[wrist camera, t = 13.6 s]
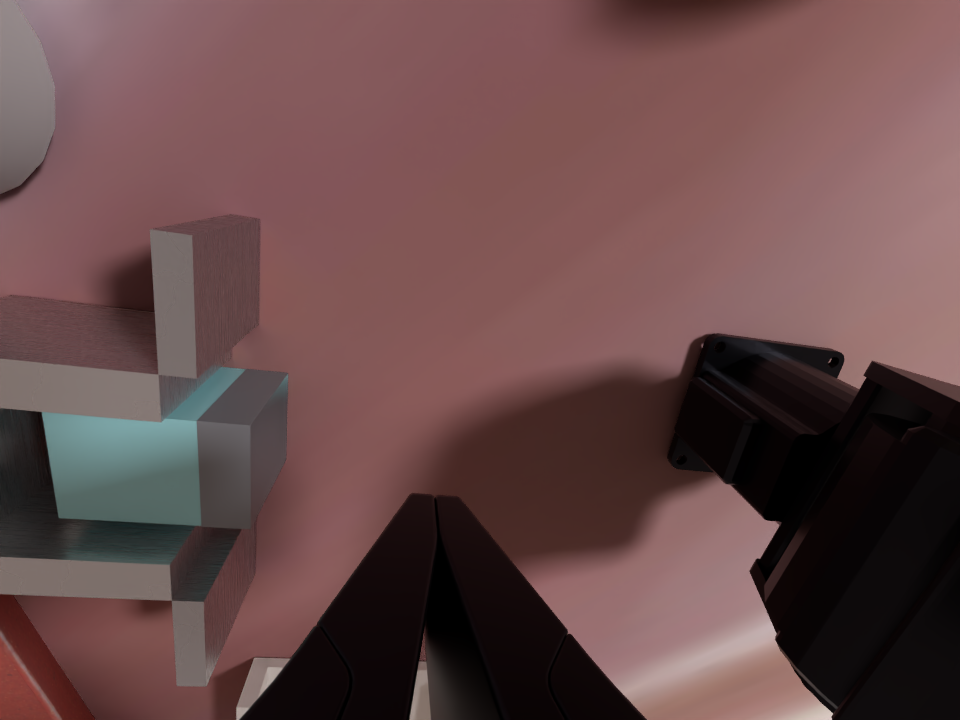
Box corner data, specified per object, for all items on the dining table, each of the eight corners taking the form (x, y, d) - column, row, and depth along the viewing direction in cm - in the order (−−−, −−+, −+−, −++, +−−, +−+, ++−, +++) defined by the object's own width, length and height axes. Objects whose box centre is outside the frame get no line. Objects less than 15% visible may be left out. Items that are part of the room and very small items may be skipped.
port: (260, 218, 18) (192, 235, 13) (255, 573, 23) (206, 686, 18) (-7, 178, 16) (-204, 178, 11) (53, 563, 22) (-62, 682, 17)
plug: (288, 372, 20) (250, 425, 16) (286, 459, 21) (251, 529, 17) (92, 353, 19) (-5, 404, 15) (103, 445, 20) (17, 516, 16)
